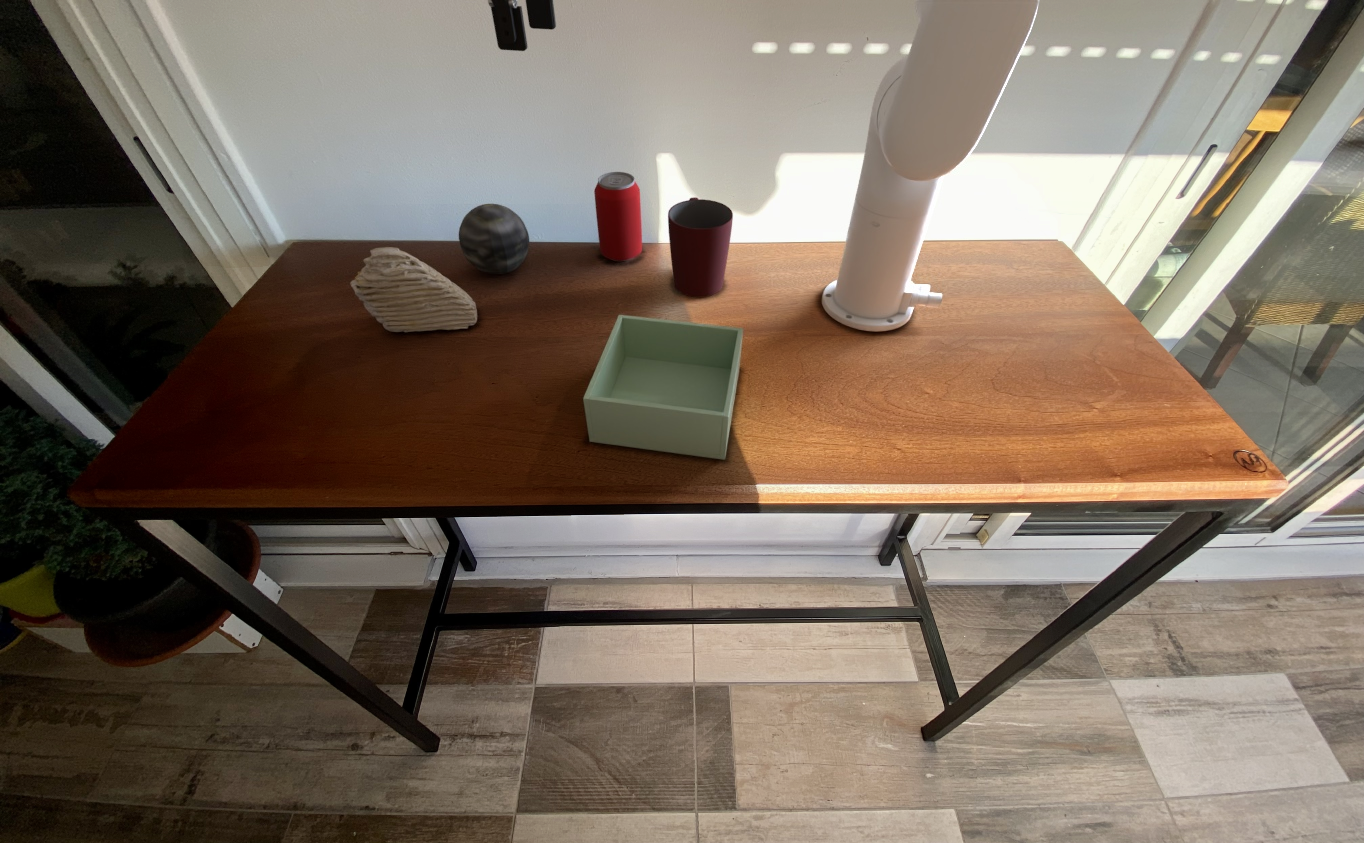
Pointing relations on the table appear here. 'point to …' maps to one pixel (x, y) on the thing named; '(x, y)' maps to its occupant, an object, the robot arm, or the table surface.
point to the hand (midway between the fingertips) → (528, 38)
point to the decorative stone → (494, 238)
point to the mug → (699, 245)
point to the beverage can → (618, 216)
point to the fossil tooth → (411, 294)
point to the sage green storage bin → (665, 386)
